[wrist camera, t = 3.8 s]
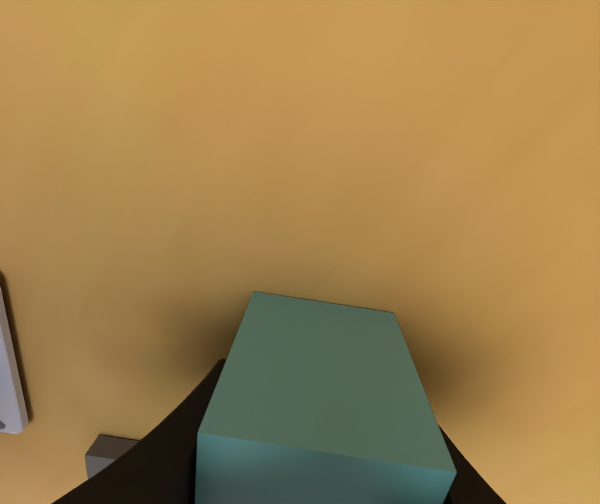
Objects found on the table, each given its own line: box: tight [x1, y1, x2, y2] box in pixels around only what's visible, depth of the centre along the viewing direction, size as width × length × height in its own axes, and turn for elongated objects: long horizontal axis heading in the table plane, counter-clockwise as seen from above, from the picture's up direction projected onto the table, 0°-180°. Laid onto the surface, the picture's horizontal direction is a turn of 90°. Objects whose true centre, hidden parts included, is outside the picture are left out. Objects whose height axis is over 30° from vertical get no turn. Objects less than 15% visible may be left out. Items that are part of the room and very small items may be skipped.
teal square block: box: [195, 292, 457, 504], centre depth 10 cm, size 5×5×6 cm
